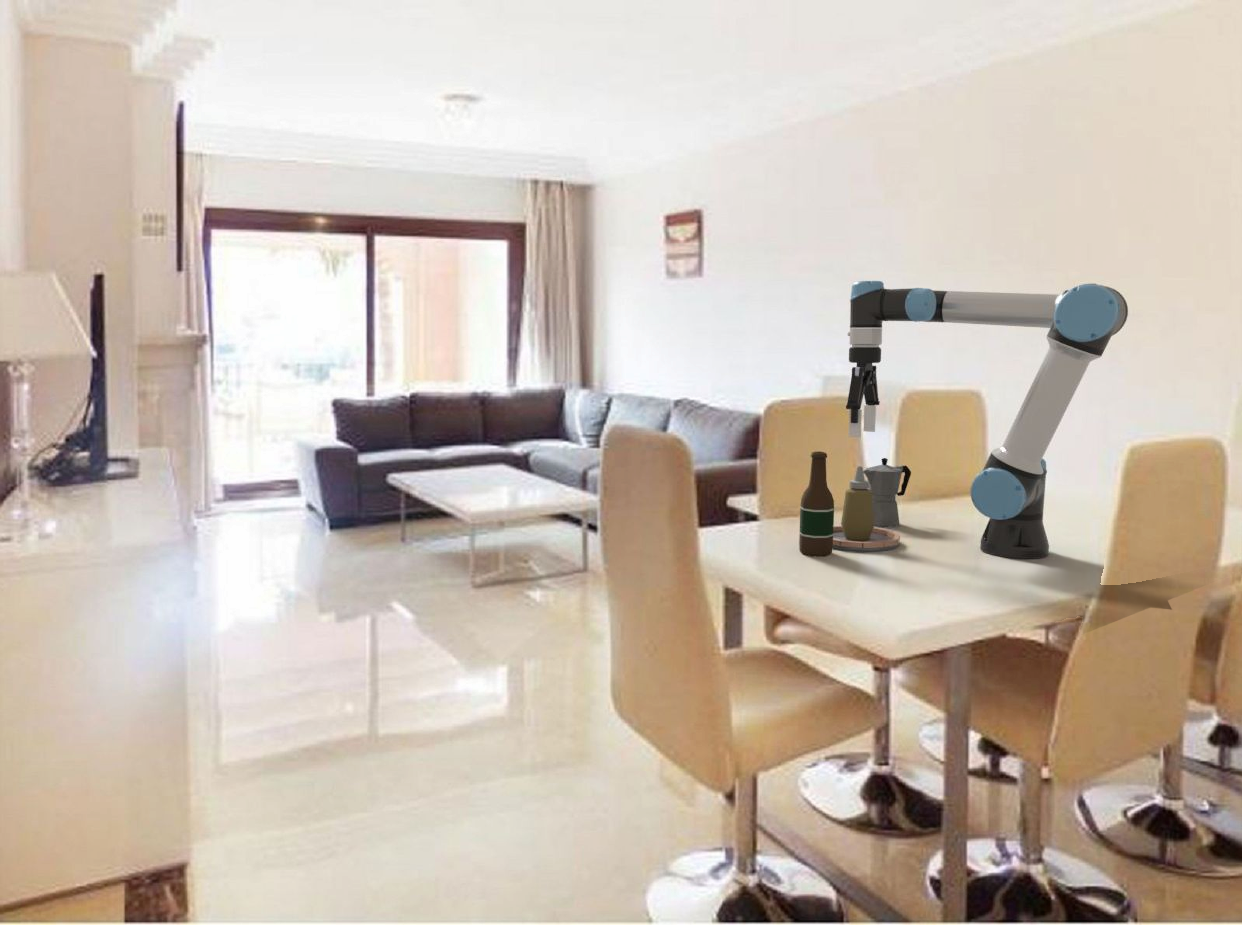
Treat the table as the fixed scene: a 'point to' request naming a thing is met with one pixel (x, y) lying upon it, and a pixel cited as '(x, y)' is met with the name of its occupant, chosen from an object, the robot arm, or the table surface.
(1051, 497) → the table surface
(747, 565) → the table surface
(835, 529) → the dish
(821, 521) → the beer bottle
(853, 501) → the squeeze bottle
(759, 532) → the table surface
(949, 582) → the table surface
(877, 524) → the coffeepot
